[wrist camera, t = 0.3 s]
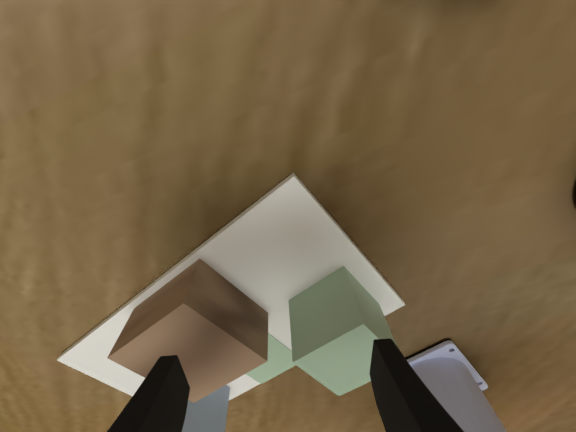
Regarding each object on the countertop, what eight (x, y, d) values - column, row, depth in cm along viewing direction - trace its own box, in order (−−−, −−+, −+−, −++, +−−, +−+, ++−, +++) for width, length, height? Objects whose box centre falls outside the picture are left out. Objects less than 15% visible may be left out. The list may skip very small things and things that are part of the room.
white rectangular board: (402, 299, 23) (405, 305, 22) (189, 416, 30) (187, 423, 29) (293, 172, 17) (294, 176, 17) (61, 353, 24) (55, 361, 23)
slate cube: (230, 387, 27) (222, 452, 22) (193, 407, 28) (178, 472, 24) (188, 362, 25) (170, 428, 20) (151, 386, 26) (126, 453, 22)
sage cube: (379, 303, 22) (405, 364, 18) (326, 333, 24) (339, 396, 19) (343, 265, 20) (363, 323, 16) (288, 300, 21) (292, 362, 17)
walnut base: (268, 312, 22) (267, 361, 19) (205, 352, 24) (193, 403, 20) (199, 258, 19) (183, 303, 16) (134, 308, 21) (107, 358, 18)
